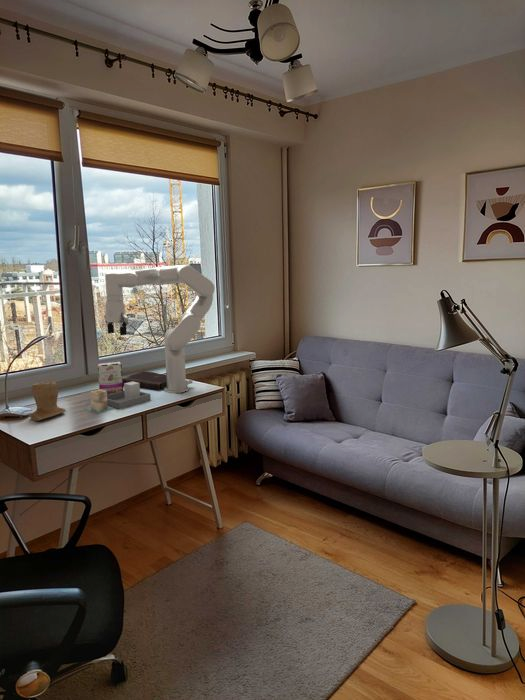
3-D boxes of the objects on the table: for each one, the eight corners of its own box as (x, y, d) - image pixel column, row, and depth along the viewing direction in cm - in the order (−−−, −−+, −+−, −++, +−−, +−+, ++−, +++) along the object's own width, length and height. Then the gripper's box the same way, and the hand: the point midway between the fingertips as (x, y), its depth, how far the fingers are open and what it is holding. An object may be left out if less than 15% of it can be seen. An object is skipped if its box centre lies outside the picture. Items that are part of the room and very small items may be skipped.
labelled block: (101, 406, 225) (99, 388, 223) (107, 408, 222) (106, 390, 220) (91, 409, 221) (90, 391, 219) (98, 411, 218) (96, 393, 216)
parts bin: (131, 395, 243) (130, 388, 243) (150, 401, 235) (150, 393, 234) (100, 404, 230) (99, 397, 229) (119, 410, 221) (119, 402, 220)
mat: (100, 406, 227) (100, 404, 227) (114, 410, 221) (114, 408, 221) (85, 410, 221) (85, 409, 221) (98, 414, 215) (98, 413, 215)
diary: (158, 393, 250) (158, 383, 249) (120, 387, 261) (120, 378, 260) (180, 384, 267) (180, 375, 265) (144, 379, 278) (143, 370, 277)
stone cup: (51, 409, 223) (48, 377, 220) (69, 413, 217) (67, 380, 214) (21, 419, 209) (17, 385, 207) (40, 424, 204) (36, 388, 201)
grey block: (133, 397, 239) (132, 381, 237) (140, 399, 236) (139, 383, 234) (124, 400, 235) (123, 383, 233) (131, 401, 232) (130, 385, 230)
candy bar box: (122, 393, 248) (120, 361, 245) (124, 396, 243) (121, 363, 240) (99, 395, 244) (96, 363, 241) (100, 398, 239) (97, 365, 236)
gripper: (97, 298, 239) (99, 333, 242) (119, 300, 228) (121, 336, 232) (110, 297, 245) (112, 331, 248) (132, 298, 234) (134, 334, 237)
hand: (117, 334), depth 240 cm, fingers open, 9 cm apart
